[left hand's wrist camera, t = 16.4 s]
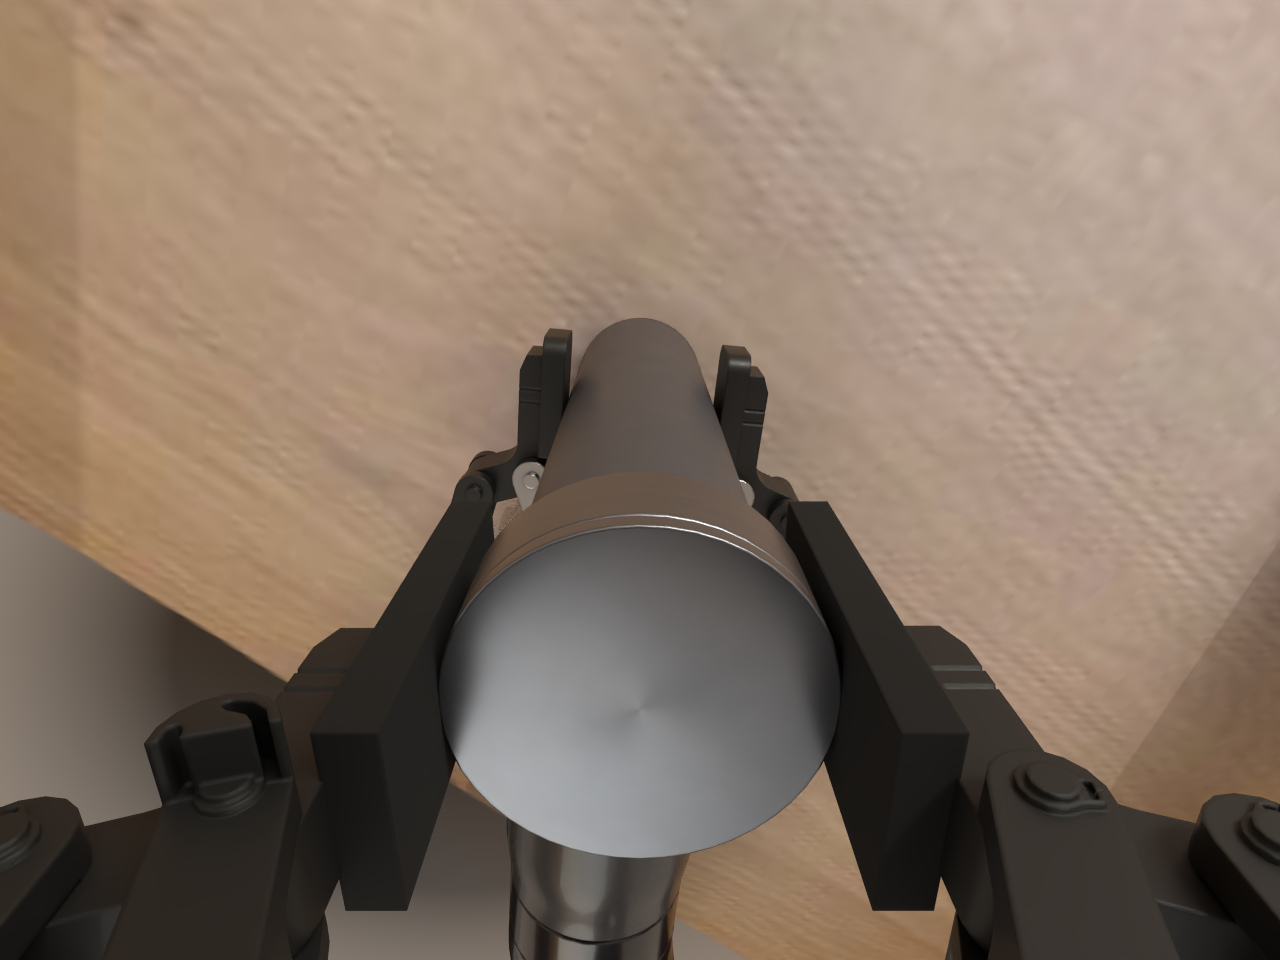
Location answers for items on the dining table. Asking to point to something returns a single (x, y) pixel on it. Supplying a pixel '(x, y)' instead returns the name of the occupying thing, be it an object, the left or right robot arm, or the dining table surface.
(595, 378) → the dark grey cylinder
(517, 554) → the lid
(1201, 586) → the dining table surface
